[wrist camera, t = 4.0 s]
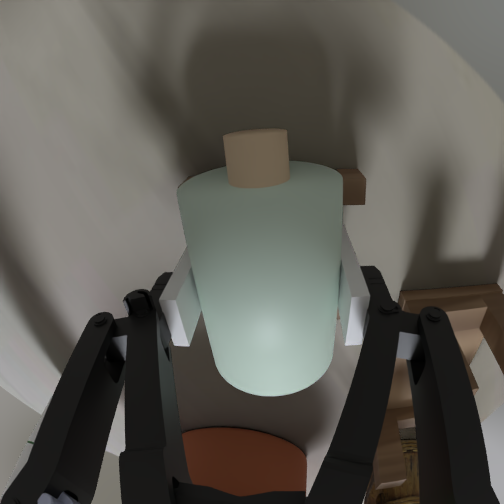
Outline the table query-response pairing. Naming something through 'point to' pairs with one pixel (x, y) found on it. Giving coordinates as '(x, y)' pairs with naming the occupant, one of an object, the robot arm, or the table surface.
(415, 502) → the wooden mug
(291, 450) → the potted cactus
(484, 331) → the roll holder
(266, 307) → the paper roll
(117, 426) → the table surface
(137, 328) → the robot arm
